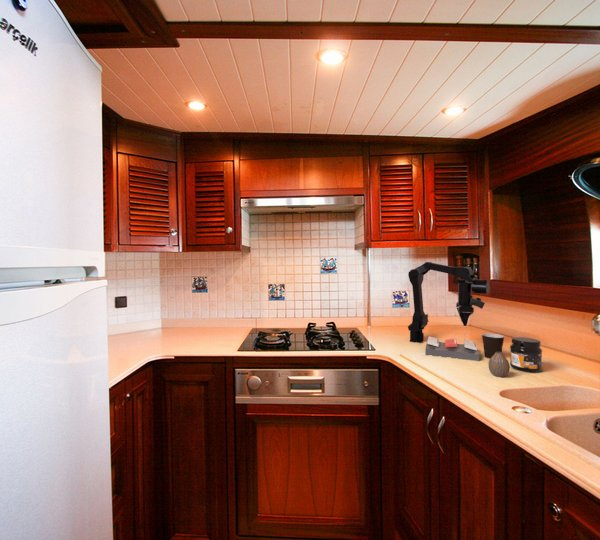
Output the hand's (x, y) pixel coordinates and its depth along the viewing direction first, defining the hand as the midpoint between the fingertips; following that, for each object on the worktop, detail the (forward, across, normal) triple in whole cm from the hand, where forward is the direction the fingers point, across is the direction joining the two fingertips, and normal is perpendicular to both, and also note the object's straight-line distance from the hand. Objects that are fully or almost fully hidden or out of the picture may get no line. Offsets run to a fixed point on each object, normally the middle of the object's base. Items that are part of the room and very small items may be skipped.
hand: (464, 324), depth 155 cm
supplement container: (+13, -22, -20) cm, 33 cm away
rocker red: (+9, -7, +6) cm, 12 cm away
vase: (+13, -34, -9) cm, 38 cm away
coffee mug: (+13, -8, -12) cm, 19 cm away
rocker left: (+9, -6, +14) cm, 18 cm away
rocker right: (+8, -7, -2) cm, 11 cm away
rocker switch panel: (+13, -9, +6) cm, 17 cm away
